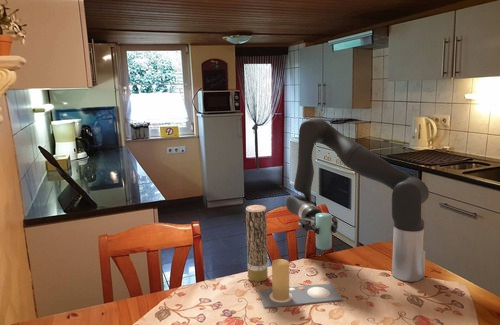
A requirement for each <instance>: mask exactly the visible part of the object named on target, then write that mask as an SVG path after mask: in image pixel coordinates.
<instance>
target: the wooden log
mask: <svg viewBox="0 0 500 325" xmlns="http://www.w3.org/2000/svg"><path fill="white" fill-rule="evenodd" d="M245 222H246V223H245V225H246V226H245V227H246V252H247V253H246V256H247V262H246V263H247V277H248V280H250V281H252V282H254V283H255V282H256V283H258V282H263V281H265V280H267V279H268V275H269V274H268V235H267V234H268V231H267V230H268V226H267V207H266V206H265V205H262V204H253V205H251V204H250V205H247V206H246V207H245Z"/></svg>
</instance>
